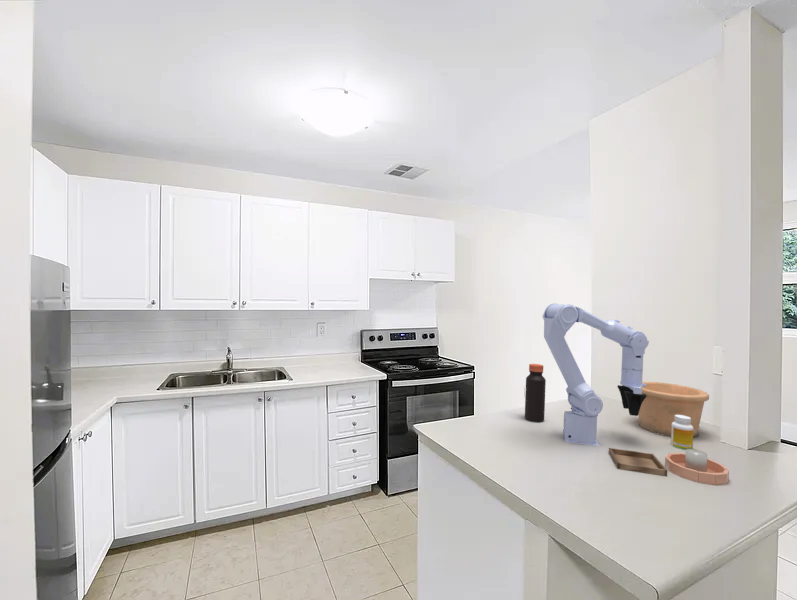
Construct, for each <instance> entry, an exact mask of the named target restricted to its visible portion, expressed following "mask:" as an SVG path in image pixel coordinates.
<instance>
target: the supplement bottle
mask: <svg viewBox="0 0 797 600" xmlns="http://www.w3.org/2000/svg"><path fill="white" fill-rule="evenodd" d="M674 419H675V422H673V423H672V425H671V436H670V446H672V447H674V448H676V449H680V450H684V451H686V449H694V447H693V444H694V437H693V426H692V425H691V424H690V423H691V418H690V417H688V416H684V415H675V418H674Z"/></svg>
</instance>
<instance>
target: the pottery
mask: <svg viewBox="0 0 797 600" xmlns="http://www.w3.org/2000/svg"><path fill="white" fill-rule="evenodd" d="M642 383H645V384H647V386H646V387H644V386H643V387H642V393H641V394H646V398H645V399H644V401H643V402H642V404H641V407H640V411H639V414H638V424H639V427H641V428H642V427H643V428H642V429H644V430H646V431H648V430H649V432H651V431H652V432H651V433H654V432H655V433H654V434H657V433H659V434H658V435H661V434H663V435H662V436H666V435H667V436H666V437H671V425H672V423H673V422H675V419H674V418H675V415H684V416H688V417H690V418H691V423H690V424H691V425H692V426H693V438H695V437H697V436H698V433H699V429H700V423H701V418H702V415H703V409H704V406H705V402H707V401H709V400H710V395H709V393H708V392H706V391H705V390H702V389H699V388H695V387H690V386H687V385H680V384H675V383H668V382H660V381H659V382H658V381H642Z"/></svg>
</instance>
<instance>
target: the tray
mask: <svg viewBox="0 0 797 600" xmlns="http://www.w3.org/2000/svg"><path fill="white" fill-rule="evenodd" d="M608 454H609V456H610V458H611V460H612V461H613V463H614V465H615V467H616V468H617V470H622V471H623V470H624V471H629V472H637V473H640V474H641V473H643V474H650V475H656V476H662V477H668V469H667V468H665V467H666V466H665V465H663V464H662V462H661V461H660V460H659V459H658V458H657V456H656V455H655V454H654V453H650V452H644V451H643V452H641V451H633V450H628V449H620V448H613V447H608Z"/></svg>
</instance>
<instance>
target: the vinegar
mask: <svg viewBox="0 0 797 600" xmlns="http://www.w3.org/2000/svg"><path fill="white" fill-rule="evenodd" d="M528 372H529V374H528V375H527V376H526V377H525V395H524V396H525V400H524V401H525V403H524V419H525V420H526V421H528V422H533V423H542V422H544V421H545V412H546V411H545V407H546V406H545V404H546V381H547V380H546V378H545V377H544V376H543V374H544V365H543V364H540V363H530V364H528Z"/></svg>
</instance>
